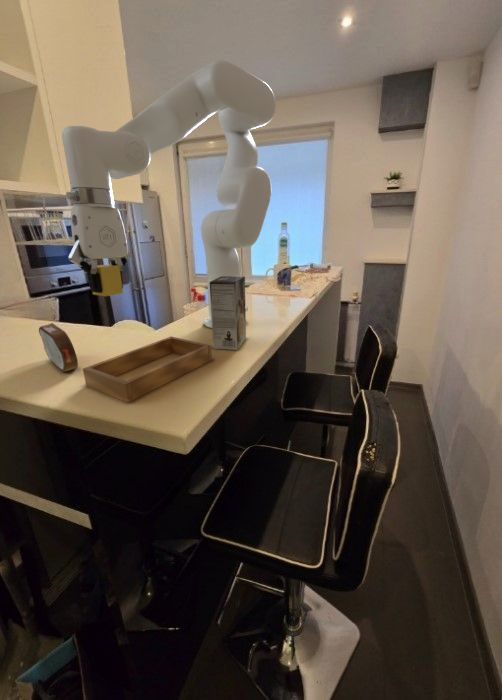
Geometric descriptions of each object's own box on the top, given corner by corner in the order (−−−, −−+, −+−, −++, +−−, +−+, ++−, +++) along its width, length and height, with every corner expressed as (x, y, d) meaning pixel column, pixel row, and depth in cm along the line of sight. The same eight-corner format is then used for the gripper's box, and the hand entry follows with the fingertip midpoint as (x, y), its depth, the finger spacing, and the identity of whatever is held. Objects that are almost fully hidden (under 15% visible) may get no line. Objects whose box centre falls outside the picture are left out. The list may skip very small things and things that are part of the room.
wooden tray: (172, 350, 78) (171, 336, 76) (211, 360, 72) (211, 345, 70) (86, 385, 60) (82, 368, 59) (128, 403, 54) (125, 384, 53)
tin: (81, 373, 65) (73, 333, 63) (64, 378, 63) (55, 337, 60) (58, 354, 76) (50, 319, 73) (43, 358, 74) (34, 322, 71)
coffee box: (223, 337, 87) (220, 275, 81) (246, 338, 85) (245, 276, 80) (212, 348, 78) (208, 281, 73) (238, 350, 77) (236, 281, 71)
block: (110, 291, 76) (106, 264, 74) (123, 293, 73) (119, 265, 71) (92, 294, 72) (88, 266, 70) (105, 296, 70) (100, 267, 68)
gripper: (62, 195, 58) (81, 298, 64) (139, 202, 71) (149, 286, 77) (40, 198, 61) (60, 294, 68) (117, 203, 75) (128, 283, 81)
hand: (107, 289), depth 72 cm, fingers closed on block, 4 cm apart
